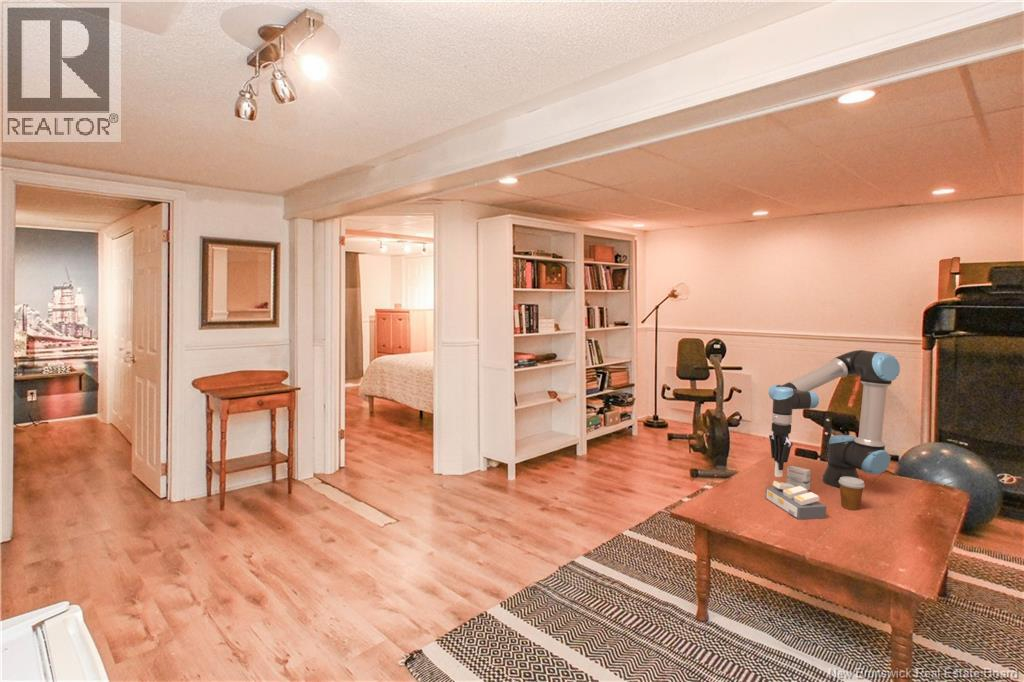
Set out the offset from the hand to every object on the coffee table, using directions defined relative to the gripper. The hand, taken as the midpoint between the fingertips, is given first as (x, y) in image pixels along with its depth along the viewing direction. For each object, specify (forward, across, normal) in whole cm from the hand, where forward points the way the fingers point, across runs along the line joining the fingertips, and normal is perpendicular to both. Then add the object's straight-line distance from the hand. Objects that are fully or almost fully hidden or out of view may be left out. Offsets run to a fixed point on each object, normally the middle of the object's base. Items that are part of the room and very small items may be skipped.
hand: (778, 476), depth 231 cm
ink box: (+12, -8, +15) cm, 21 cm away
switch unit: (+12, +7, +3) cm, 14 cm away
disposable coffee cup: (+12, +10, +27) cm, 31 cm away
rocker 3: (+5, +14, +3) cm, 15 cm away
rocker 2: (+5, +7, +3) cm, 9 cm away
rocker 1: (+5, 0, +3) cm, 6 cm away
